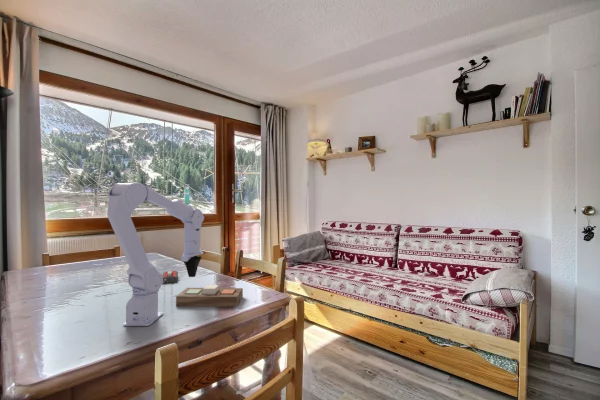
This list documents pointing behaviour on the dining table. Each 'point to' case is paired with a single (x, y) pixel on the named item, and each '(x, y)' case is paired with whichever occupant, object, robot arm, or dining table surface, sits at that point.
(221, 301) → the wooden tray
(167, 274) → the walkie-talkie
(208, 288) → the key cream
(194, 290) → the key sage
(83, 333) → the dining table surface
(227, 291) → the key rust
